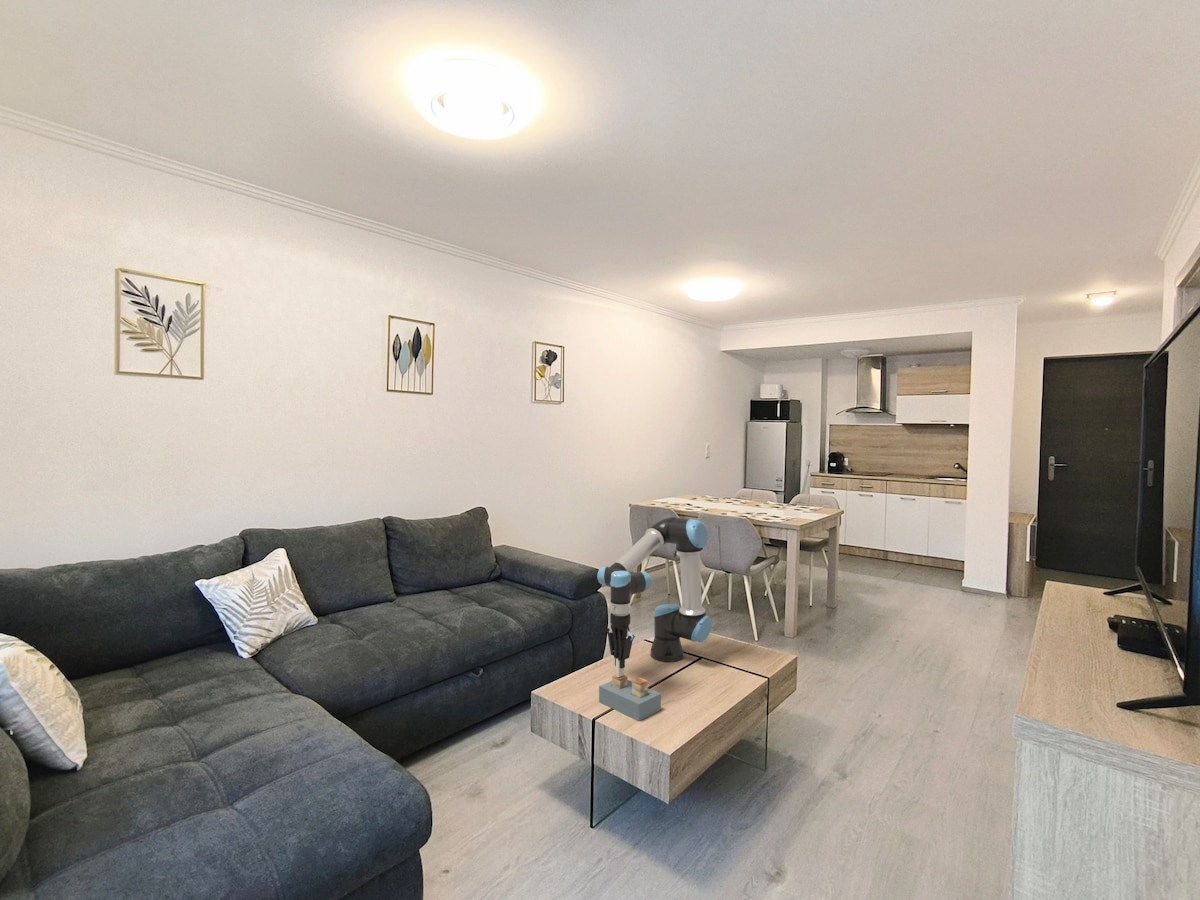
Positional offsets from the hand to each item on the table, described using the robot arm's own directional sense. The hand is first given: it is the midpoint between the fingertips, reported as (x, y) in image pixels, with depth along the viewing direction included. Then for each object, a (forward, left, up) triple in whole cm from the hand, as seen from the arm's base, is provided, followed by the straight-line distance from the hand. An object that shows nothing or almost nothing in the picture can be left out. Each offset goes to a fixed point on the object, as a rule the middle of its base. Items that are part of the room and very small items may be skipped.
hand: (619, 675), depth 210 cm
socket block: (0, +5, -10) cm, 11 cm away
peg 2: (0, +10, -5) cm, 11 cm away
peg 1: (0, 0, -6) cm, 6 cm away
